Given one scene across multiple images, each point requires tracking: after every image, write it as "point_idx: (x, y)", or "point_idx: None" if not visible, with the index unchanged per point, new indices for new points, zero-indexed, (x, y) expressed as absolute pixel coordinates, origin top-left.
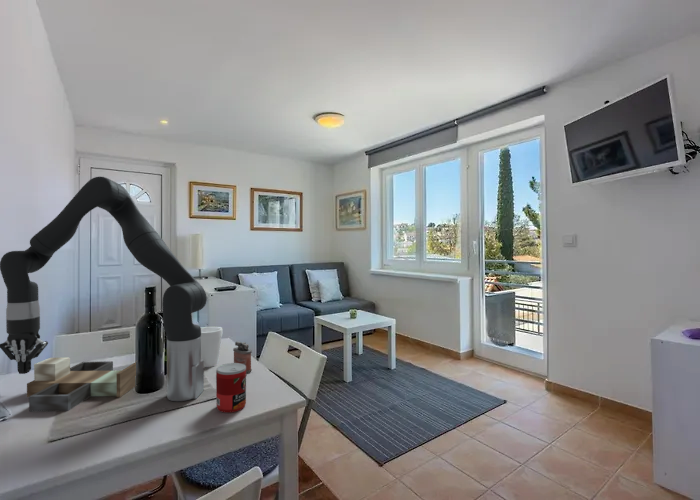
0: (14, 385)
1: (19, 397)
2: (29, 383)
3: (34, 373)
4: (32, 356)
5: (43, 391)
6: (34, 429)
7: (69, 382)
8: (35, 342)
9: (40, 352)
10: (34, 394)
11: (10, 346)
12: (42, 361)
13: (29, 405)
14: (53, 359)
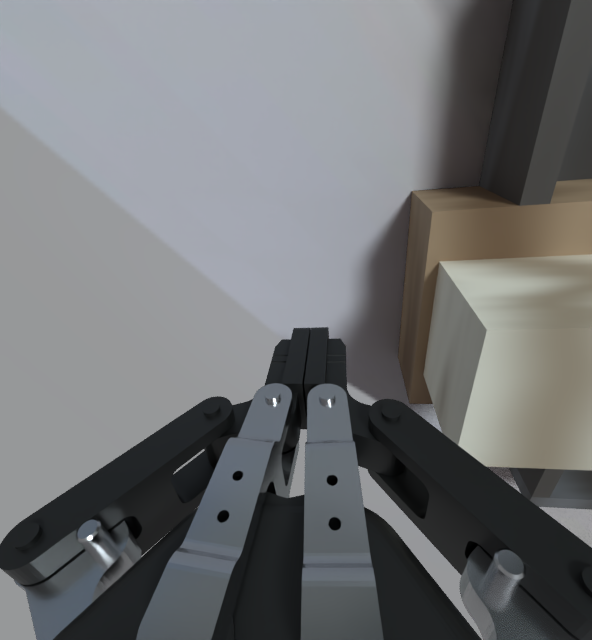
0: (196, 226)
1: (364, 356)
2: (422, 402)
3: (437, 409)
4: (414, 479)
5: (560, 471)
6: (587, 525)
7: None
8: (438, 616)
9: (454, 452)
10: (538, 494)
11: (134, 544)
12: (481, 420)
13: (512, 471)
14: (560, 379)
